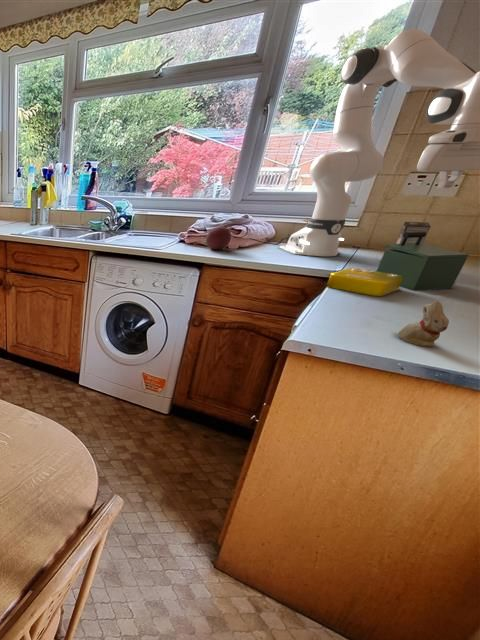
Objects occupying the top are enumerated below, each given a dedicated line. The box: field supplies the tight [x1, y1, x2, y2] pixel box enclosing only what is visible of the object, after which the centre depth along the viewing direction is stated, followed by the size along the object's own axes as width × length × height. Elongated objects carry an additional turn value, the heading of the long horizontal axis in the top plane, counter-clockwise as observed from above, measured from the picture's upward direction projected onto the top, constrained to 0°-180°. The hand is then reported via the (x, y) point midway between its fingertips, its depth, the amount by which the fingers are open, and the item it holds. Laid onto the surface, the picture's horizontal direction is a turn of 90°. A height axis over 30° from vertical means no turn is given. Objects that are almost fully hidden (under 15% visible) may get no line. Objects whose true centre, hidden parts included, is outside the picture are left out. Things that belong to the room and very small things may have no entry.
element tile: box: [326, 267, 403, 297], centre depth 139 cm, size 15×15×5 cm
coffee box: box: [395, 221, 432, 244], centre depth 156 cm, size 9×6×16 cm
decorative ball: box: [205, 226, 232, 251], centre depth 197 cm, size 10×10×10 cm
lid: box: [383, 232, 470, 258], centre depth 138 cm, size 16×13×5 cm
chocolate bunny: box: [397, 300, 450, 348], centre depth 100 cm, size 6×8×10 cm
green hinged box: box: [376, 248, 468, 291], centre depth 141 cm, size 15×13×10 cm
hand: (444, 187), depth 132 cm, fingers closed
